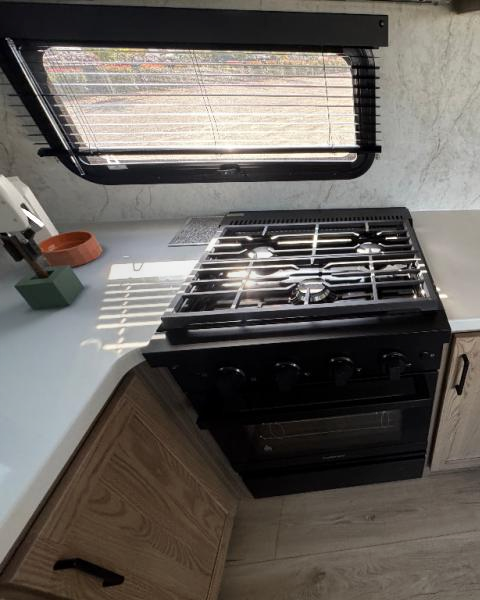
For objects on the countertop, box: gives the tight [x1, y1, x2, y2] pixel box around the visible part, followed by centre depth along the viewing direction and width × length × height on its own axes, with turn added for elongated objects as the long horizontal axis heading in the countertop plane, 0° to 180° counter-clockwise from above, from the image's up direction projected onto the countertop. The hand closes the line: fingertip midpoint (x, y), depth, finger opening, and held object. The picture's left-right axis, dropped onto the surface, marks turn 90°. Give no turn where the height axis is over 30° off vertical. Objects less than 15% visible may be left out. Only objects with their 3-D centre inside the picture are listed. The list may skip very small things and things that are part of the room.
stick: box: [7, 232, 49, 279], centre depth 76 cm, size 2×2×17 cm
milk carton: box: [5, 175, 60, 245], centre depth 96 cm, size 7×7×19 cm
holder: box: [13, 265, 85, 311], centre depth 79 cm, size 7×7×7 cm
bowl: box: [38, 230, 103, 268], centre depth 94 cm, size 12×12×6 cm
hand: (29, 257), depth 74 cm, fingers closed
